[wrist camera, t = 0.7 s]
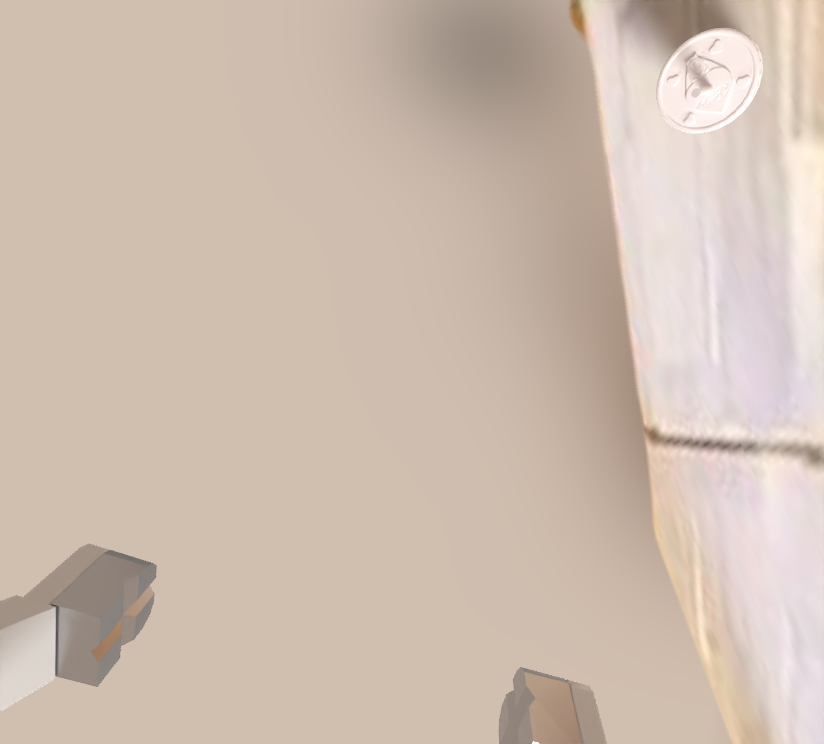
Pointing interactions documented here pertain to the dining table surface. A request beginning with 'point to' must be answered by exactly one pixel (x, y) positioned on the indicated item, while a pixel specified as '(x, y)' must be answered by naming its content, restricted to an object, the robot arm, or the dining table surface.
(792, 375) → the dining table surface
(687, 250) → the dining table surface
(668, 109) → the smoothie
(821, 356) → the dining table surface
